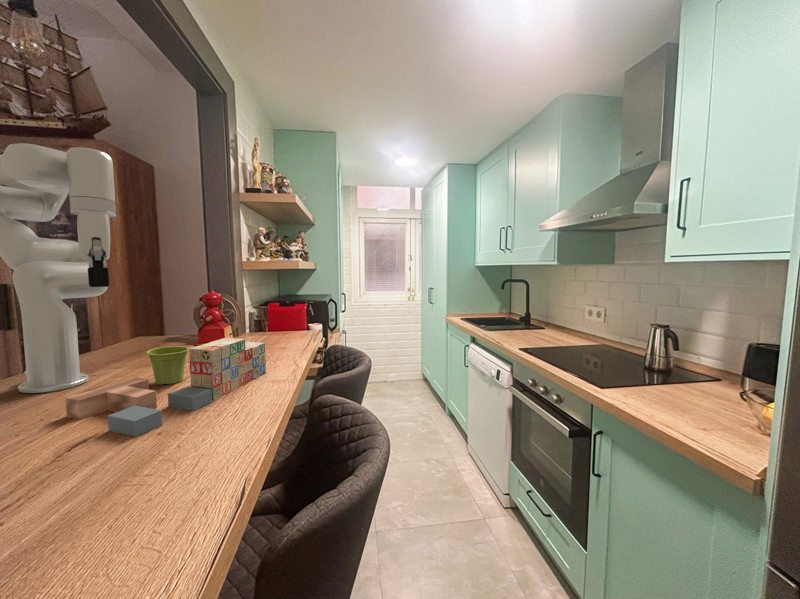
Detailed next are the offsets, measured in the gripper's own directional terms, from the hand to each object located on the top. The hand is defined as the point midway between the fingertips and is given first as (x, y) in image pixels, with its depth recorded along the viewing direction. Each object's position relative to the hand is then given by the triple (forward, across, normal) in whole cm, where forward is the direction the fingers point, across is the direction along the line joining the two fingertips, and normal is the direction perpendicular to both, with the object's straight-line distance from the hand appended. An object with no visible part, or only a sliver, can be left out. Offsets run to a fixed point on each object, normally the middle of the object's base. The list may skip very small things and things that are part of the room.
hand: (98, 285), depth 76 cm
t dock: (+27, +19, +9) cm, 34 cm away
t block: (+27, +9, +3) cm, 28 cm away
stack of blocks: (+27, +7, +25) cm, 38 cm away
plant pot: (+27, -6, +13) cm, 30 cm away
